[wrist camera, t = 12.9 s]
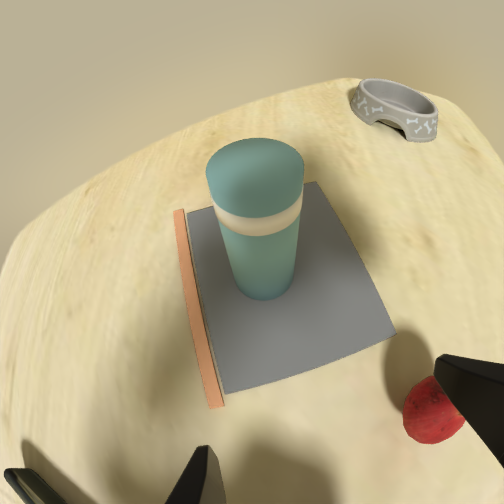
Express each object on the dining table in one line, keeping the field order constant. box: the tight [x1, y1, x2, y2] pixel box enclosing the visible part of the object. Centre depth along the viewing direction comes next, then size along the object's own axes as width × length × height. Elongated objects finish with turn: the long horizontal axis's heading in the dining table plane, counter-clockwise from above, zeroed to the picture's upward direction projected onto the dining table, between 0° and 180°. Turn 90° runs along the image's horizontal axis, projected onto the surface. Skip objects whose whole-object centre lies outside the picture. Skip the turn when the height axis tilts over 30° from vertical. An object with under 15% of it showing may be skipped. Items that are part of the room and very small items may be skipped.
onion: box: [402, 376, 466, 444], centre depth 14 cm, size 6×6×8 cm
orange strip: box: [173, 209, 224, 409], centre depth 26 cm, size 22×1×1 cm, turn 16°
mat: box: [187, 182, 397, 394], centre depth 26 cm, size 16×20×1 cm
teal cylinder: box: [206, 138, 304, 301], centre depth 20 cm, size 6×6×13 cm
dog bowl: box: [350, 78, 438, 143], centre depth 40 cm, size 17×18×5 cm
